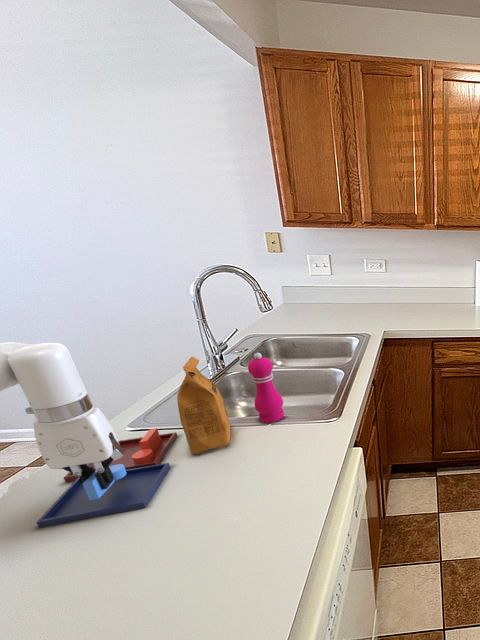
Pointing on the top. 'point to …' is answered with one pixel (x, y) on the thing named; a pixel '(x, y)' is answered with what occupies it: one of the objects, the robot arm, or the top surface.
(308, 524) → the top surface
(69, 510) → the navy tray
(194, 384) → the coffee package
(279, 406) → the pepper mill
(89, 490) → the blue spoon
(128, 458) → the maroon tray
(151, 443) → the coral spoon
